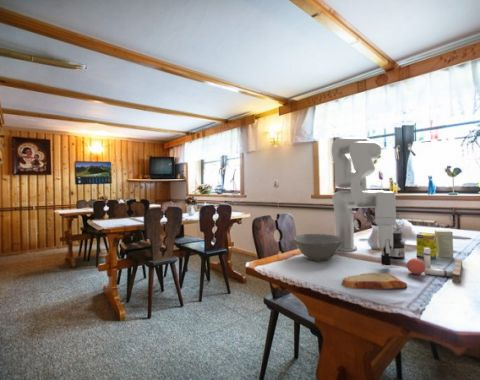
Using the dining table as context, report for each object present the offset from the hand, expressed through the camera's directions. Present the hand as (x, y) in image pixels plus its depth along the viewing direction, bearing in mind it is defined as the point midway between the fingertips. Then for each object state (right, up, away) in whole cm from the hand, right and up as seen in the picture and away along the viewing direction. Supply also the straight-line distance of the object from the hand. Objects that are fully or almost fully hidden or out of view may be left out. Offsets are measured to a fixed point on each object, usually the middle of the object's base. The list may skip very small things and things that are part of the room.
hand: (385, 264), depth 113 cm
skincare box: (+36, -1, +15) cm, 39 cm away
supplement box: (+27, -1, +14) cm, 31 cm away
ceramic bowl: (-24, -2, +17) cm, 29 cm away
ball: (+7, +1, -8) cm, 11 cm away
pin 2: (+11, 0, -8) cm, 14 cm away
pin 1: (+16, -1, -2) cm, 16 cm away
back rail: (+23, -1, -9) cm, 25 cm away
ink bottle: (+13, -1, +17) cm, 21 cm away
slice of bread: (-14, -3, -18) cm, 22 cm away
